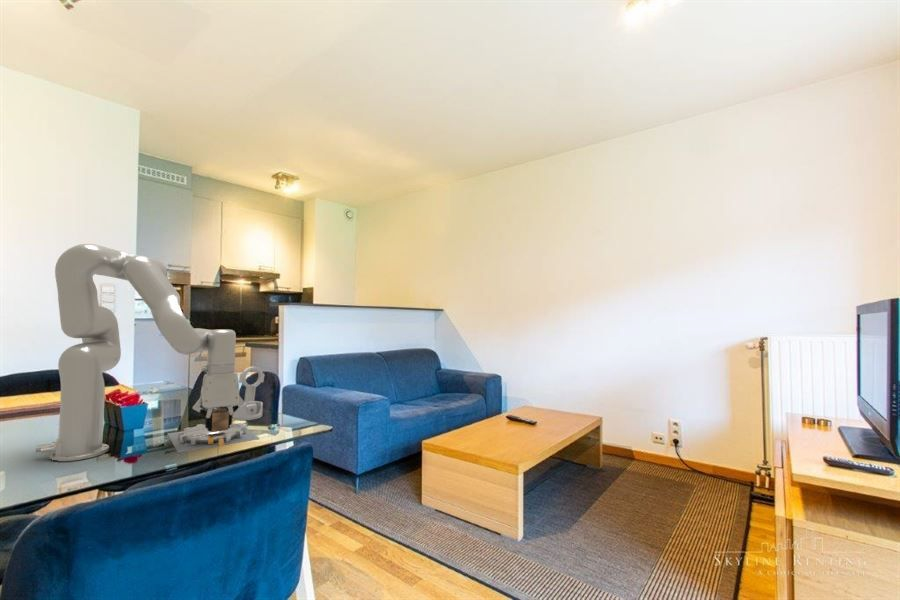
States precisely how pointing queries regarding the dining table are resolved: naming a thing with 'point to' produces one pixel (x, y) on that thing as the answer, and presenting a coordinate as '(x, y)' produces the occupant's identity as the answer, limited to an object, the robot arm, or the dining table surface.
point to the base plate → (188, 447)
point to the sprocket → (210, 434)
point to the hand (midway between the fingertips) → (218, 428)
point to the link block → (220, 420)
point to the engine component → (250, 398)
